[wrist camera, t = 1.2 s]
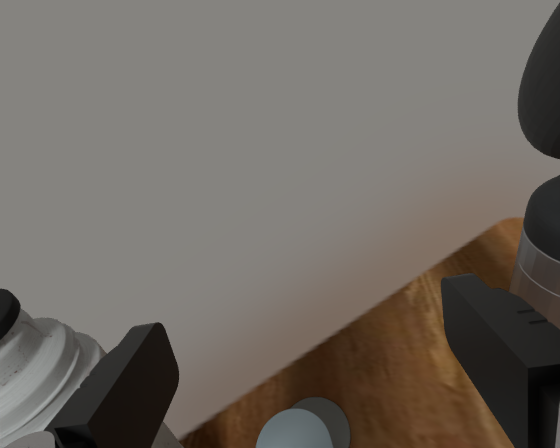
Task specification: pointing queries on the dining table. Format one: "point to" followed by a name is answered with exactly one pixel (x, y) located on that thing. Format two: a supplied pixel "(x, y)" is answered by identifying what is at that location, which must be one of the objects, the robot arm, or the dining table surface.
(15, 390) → the thermos bottle
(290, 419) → the tall pale blue cylinder
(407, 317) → the dining table surface
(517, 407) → the robot arm
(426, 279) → the dining table surface
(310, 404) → the coaster
